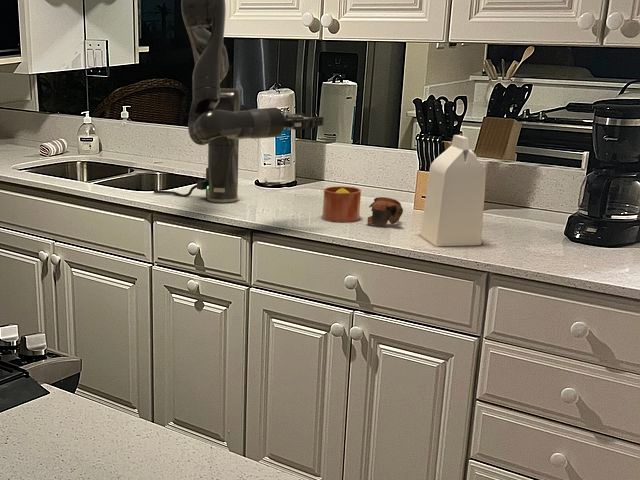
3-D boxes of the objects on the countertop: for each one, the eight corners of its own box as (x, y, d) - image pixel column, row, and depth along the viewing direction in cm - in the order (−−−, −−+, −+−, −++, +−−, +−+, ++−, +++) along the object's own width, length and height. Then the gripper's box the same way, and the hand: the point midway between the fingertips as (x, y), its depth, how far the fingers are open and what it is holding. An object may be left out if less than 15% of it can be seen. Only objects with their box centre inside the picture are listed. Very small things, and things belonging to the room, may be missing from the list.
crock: (314, 217, 265) (316, 189, 262) (340, 212, 271) (341, 185, 268) (341, 223, 257) (343, 194, 255) (366, 218, 263) (368, 190, 260)
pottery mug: (357, 224, 258) (364, 196, 259) (381, 236, 263) (388, 208, 264) (387, 221, 248) (395, 192, 248) (412, 233, 252) (420, 205, 253)
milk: (420, 234, 245) (429, 133, 235) (462, 233, 245) (474, 133, 236) (436, 246, 234) (446, 140, 224) (480, 245, 234) (493, 139, 225)
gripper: (277, 111, 235) (330, 107, 242) (247, 105, 247) (298, 102, 254) (276, 141, 238) (328, 137, 245) (247, 134, 250) (297, 130, 257)
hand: (313, 119), depth 249 cm, fingers open, 8 cm apart
